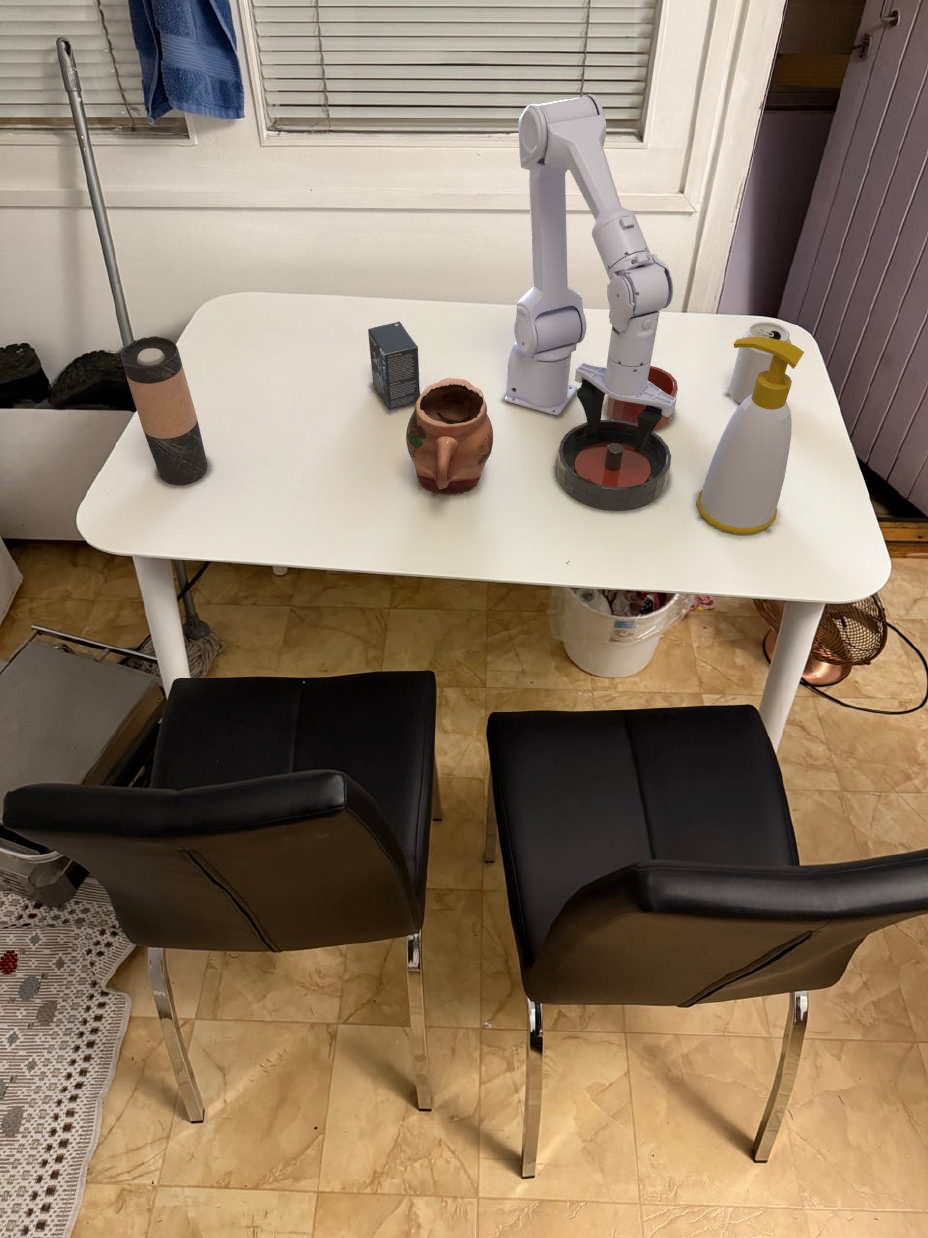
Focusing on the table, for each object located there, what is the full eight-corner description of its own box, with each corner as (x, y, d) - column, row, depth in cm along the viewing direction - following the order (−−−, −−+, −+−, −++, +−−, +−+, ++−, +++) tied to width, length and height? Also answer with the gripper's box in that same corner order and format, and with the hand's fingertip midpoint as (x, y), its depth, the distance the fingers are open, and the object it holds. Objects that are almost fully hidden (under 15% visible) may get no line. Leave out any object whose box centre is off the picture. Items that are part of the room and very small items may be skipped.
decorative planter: (493, 529, 128) (496, 450, 118) (406, 530, 128) (401, 450, 117) (489, 441, 141) (492, 362, 131) (410, 441, 141) (406, 362, 131)
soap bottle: (709, 474, 136) (751, 313, 116) (786, 500, 132) (842, 338, 112) (682, 518, 129) (721, 355, 110) (761, 547, 126) (816, 384, 106)
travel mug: (219, 459, 138) (189, 342, 123) (193, 491, 133) (158, 372, 118) (174, 449, 140) (139, 331, 125) (147, 480, 135) (107, 361, 120)
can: (774, 413, 146) (795, 346, 137) (727, 407, 147) (744, 341, 138) (773, 386, 151) (793, 320, 142) (727, 381, 152) (744, 315, 143)
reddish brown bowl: (596, 421, 145) (600, 392, 141) (619, 386, 151) (623, 358, 147) (659, 439, 142) (665, 410, 137) (679, 403, 148) (686, 374, 144)
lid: (559, 477, 135) (562, 453, 131) (597, 439, 141) (601, 415, 137) (626, 506, 130) (630, 483, 127) (663, 466, 136) (668, 442, 133)
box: (372, 385, 151) (367, 327, 143) (404, 377, 152) (401, 320, 145) (388, 411, 146) (383, 353, 138) (421, 403, 148) (418, 345, 140)
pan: (539, 490, 133) (541, 468, 130) (580, 429, 143) (583, 408, 140) (645, 524, 129) (649, 502, 126) (680, 458, 138) (685, 437, 135)
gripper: (693, 359, 120) (675, 442, 130) (597, 324, 126) (587, 407, 136) (668, 384, 116) (652, 468, 127) (570, 347, 122) (562, 430, 132)
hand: (616, 438), depth 131 cm, fingers open, 7 cm apart
